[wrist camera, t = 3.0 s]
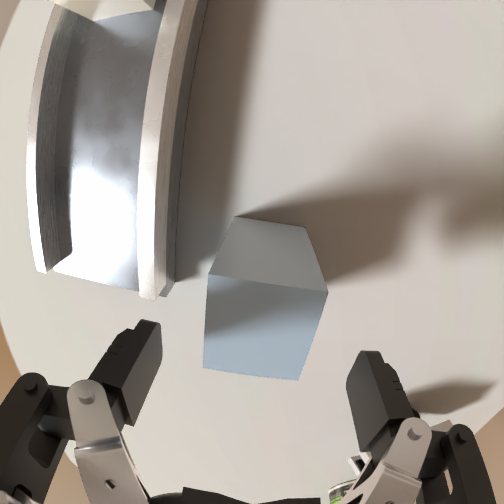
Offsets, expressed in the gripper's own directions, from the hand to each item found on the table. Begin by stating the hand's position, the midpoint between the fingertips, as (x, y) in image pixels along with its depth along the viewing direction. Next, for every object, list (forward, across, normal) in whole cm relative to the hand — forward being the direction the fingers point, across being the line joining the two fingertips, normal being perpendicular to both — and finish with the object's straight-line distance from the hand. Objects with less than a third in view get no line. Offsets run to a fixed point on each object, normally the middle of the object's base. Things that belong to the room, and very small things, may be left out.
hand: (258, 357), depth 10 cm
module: (+9, 0, 0) cm, 9 cm away
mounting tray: (+9, +11, -11) cm, 18 cm away
